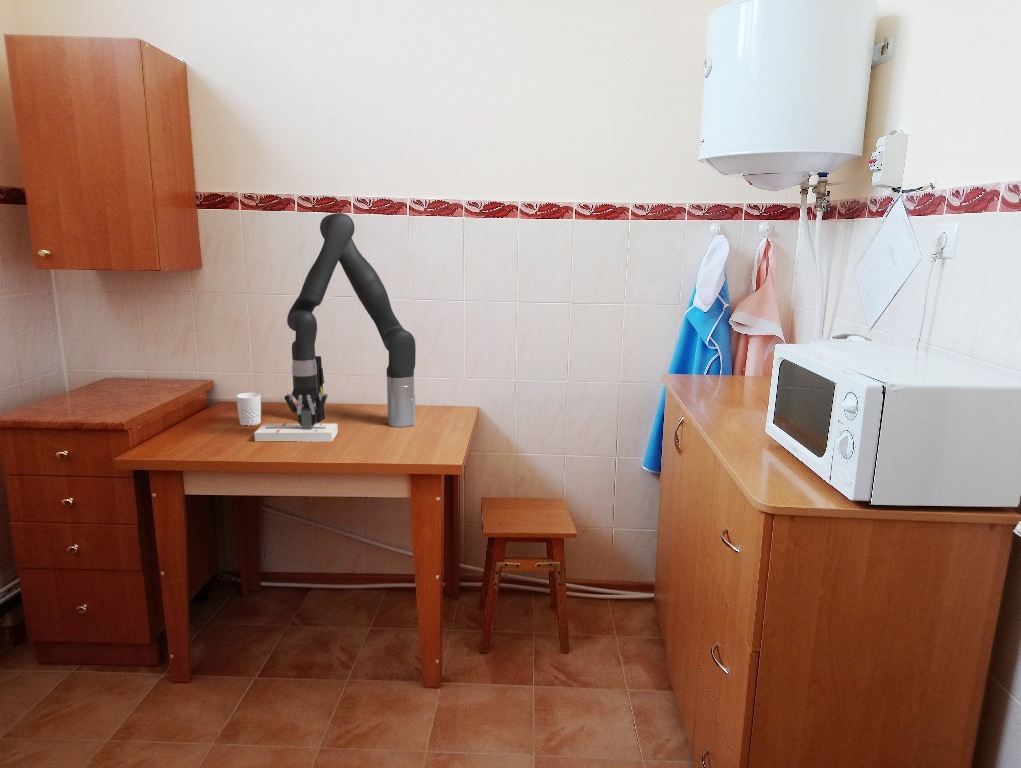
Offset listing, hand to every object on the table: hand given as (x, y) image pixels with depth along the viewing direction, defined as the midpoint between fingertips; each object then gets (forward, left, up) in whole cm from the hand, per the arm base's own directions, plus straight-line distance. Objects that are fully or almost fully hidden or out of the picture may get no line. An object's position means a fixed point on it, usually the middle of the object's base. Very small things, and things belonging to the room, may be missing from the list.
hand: (307, 424), depth 223 cm
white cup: (+24, -16, -4) cm, 29 cm away
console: (+4, 0, -4) cm, 5 cm away
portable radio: (+3, -20, -4) cm, 21 cm away
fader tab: (0, 0, -1) cm, 1 cm away
